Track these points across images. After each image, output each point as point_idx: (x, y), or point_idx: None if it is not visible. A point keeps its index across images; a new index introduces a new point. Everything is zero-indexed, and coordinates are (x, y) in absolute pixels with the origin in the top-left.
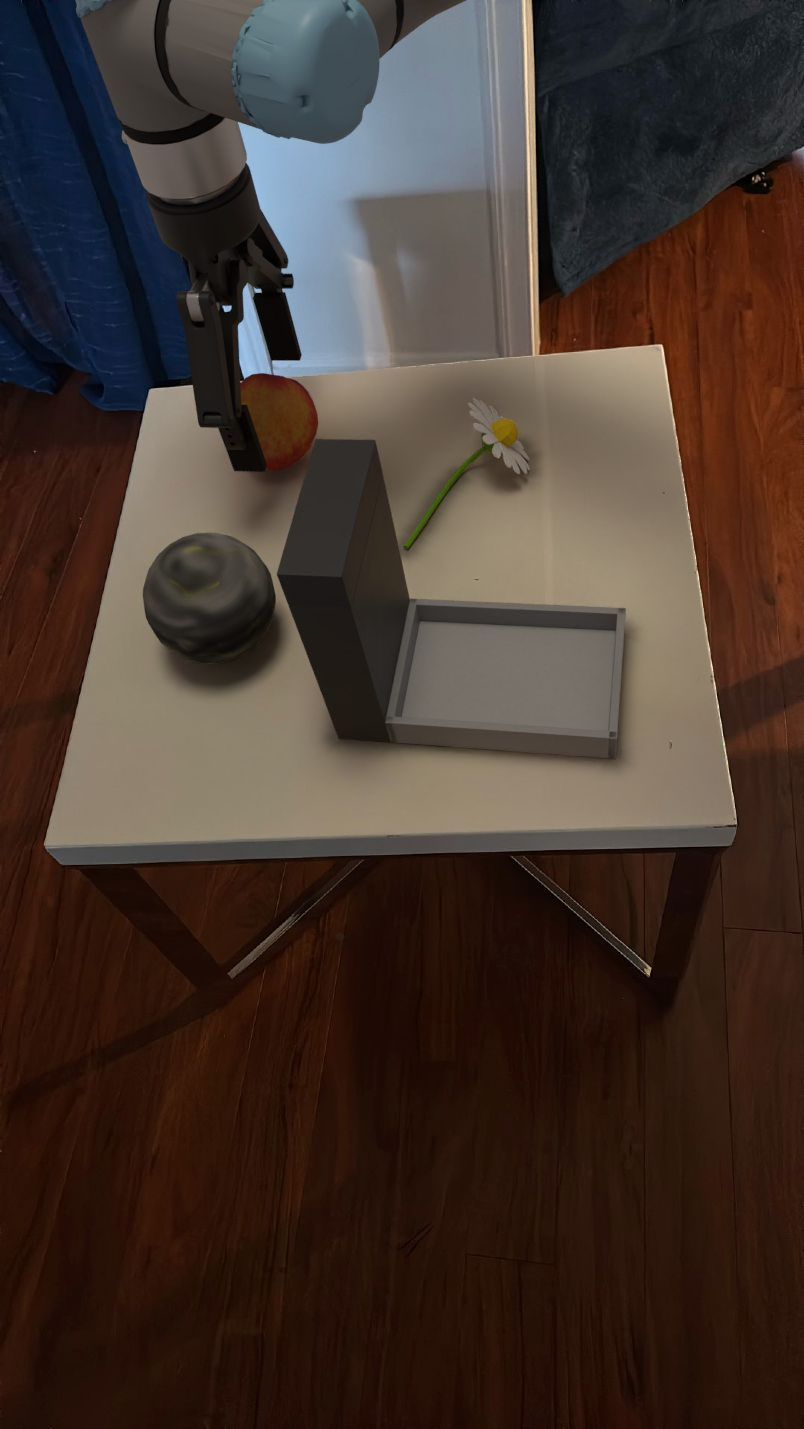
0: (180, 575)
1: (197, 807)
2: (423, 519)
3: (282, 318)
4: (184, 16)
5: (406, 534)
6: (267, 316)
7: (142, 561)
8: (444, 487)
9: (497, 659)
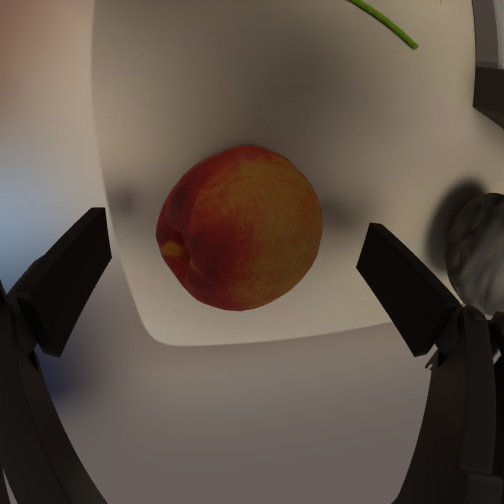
0: None
1: None
2: (384, 18)
3: (63, 271)
4: None
5: (394, 41)
6: (70, 304)
7: (369, 313)
8: None
9: (501, 26)
